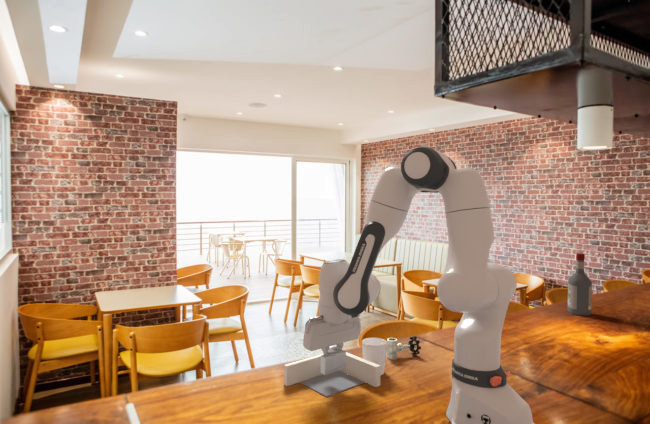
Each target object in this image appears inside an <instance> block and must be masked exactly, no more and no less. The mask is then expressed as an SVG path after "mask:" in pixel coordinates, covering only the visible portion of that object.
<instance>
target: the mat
mask: <svg viewBox="0 0 650 424" xmlns="http://www.w3.org/2000/svg"><path fill="white" fill-rule="evenodd" d="M300 384H301V385H303V386H305V387H307V388H309V389H310V390H313V391H314V392H316V393H318V394H319V395H322V396H324V397H326V398H328V397H331V396H334V395H336V394H339V393H341V392H344V391H347V390H349V389H352V388H355V387H357V386H360V385H362V384H363V385H364V384H365V382H363V381H361V380H359V379H356V378H354V377H352V376H350V375H347V374H345V373H343V372H341V371H336V372H333V373H330V374H327V375H324V374H323V375H320V376H317V377H314V378H311V379H308V380H305V381H302V382H300Z"/></svg>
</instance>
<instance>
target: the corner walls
mask: <svg viewBox="0 0 650 424" xmlns="http://www.w3.org/2000/svg"><path fill="white" fill-rule="evenodd" d="M322 355H323V353H319V354H318V355H314V356H310V357H307V358H304V359H300V360H296V361H293V362H289V363H286V364H283V385H284V386H285V387H290V386H293V385H295V384H298V383H299V384H300V383H301V382H303V381H306V380H309V379H312V378H315V377H318V376H321V375H324V374H322V373H321V356H322ZM339 371H341V372H343V373H345V374H348V375H350V376H352V377H354V378H356V379H359V380H361V381H363V382H364V384H367V383H368V385H370V386H372V387H374V388H377V387H380V386H381V376H382V375H381V365H378V364H375V363H373V362H370V361H368V360H365V359H363V357H360V356H357V355H355V354H352V353H350V352H347V351H346V368H345V369H342V370H339Z"/></svg>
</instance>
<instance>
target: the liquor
mask: <svg viewBox="0 0 650 424" xmlns="http://www.w3.org/2000/svg"><path fill="white" fill-rule="evenodd" d="M585 257H586V254H585V253H580V252H579V253H577V252H576V257H575V258H576V259H575V260H576V266H575V267H576V268H575V272H574V273H573V274H572V275H570V276H569V278H568V279H567V280H568V281H567V306H566V307H567V308H566V309H567V312H568V313H570V315H575V316H586V317H589V316H591V314H592V298H593V297H592V294H593V293H592V291H593V289H592V288H593V283H592V280H591V279H590V277H589V276H587V274H586V272H585V259H586V258H585Z"/></svg>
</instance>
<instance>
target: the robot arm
mask: <svg viewBox="0 0 650 424" xmlns="http://www.w3.org/2000/svg"><path fill="white" fill-rule="evenodd" d="M419 192H420V193H433V194H436V193H437V194H438V193H439V194H440V195H441V197H442V201H443V205H444V212H445V213H444V214H445V220H446V228H447V230H446V231H447V237H448V250H447V258H446V264H445V267H444V271H443V273H442V275H441V276H440V278H439V279H438V282H437V286H436V294H437V297H438V298H437V299H438V300H439V302H440V303H441V304H442V306H443V307H444V308H445V309H447V310H448V311H450V312H453V313H462V316H461V318H460V320H459V322H458V323H457V325H456V327H455V328H454V329H455V330H454V333H453V334H454V337H453V339H454V341H453V342H454V343H453V359H452V361H451V378H452V385H451V386H452V387H451V393H450V399H449V403H448V406H447V409H446V411H445V412H446V413H445V415H446V417H447V418H448V420H449V421H450V424H536V423H534V421H533V419H534V418H533V414H532V410H531V407H530V405H529V403H528V402H526V400H524V399H523V398H522V397H521V396H520V395H519V394H518V392H516V390H514V388H513V387H512V386H510V384H509V383H508V380H507V379H508V378H509V377H510V376H511V371H510V370H508V371H506V372H505V371H504V369H503V367H502V365H501V346H502V345H501V344H502V343H501V342H502V333H503V327H504V323H505V320H506V319H505V318H506V316H507V312H508V308H509V305H510V302H511V299H512V298H513V296H514V295H515V293H516V290H517V286H518V285H517V279H516V276H515V274H514V273H513V272H512V271H511V269H510V268H509V267H506V266H504V265H502V264H497V263H492V262H489V255H490V249H491V246H492V245H493V243H494V240H495V232H494V226H493V219H492V218H493V217H492V212H491V207H490V206H491V205H490V199H489V196H488V191H487V188H486V185H485V181H484V179H483V177H482V174H481V173H480V172H479V171H477V169H473V168H468V167H467V168H466V167H465V168H464V167H463V168H457V166H456V163H455V162H454V160H452V159H451V158H450V157H449V156H446V154H445V153H443V152H442V151H440V150H436V149H433V148H432V147H429V146H418V147H414V148H412V149H410V150H409V151H408V152H407V151H406V153H405V155H404V156H403V157H402V160H401V162H400V166H397V165H394V166H389V167H387V168H386V169H384V170H383V172H382V174H380V177H379V179H378V181H377V183H376V185H375V187H374V190H373V192H372V194H371V199H370V201H369V204H368V208H367V211H366V215H365V220H364V223H363V227H362V229H361V233H360V237H359V239H358V242H357V245H356V246H355V250H354V252H353V255H352V257H351V260H350V262H348V261H347V260H346V259H344V258H343V259H340V258H339V259H331V260H327V261H326V262H324V263H323V264H321V267H320V271H319V281H318V290H319V299H318V314H317V316H313V317H309V318H308V319H307V320H306V322H305V325H304V333H303V340H302V341H303V342H302V344H303V345H302V346H303V348H304V349H305V350H307V351H309V352H313V351H317V350H321V351H322V354H323V353H324V355H325V354H328V353H329V352H328V350H329V346H335V345H336V346H335V347H337V348H339V349H341V350H343V348H344V343H347V342H351V341H354V340H358V339H359V338H360V335H361V330H362V329H361V319H360V317H361V314H362V313H363V312H364V311H365V310H366V309H367V308H368V307H369V306H370V305H371V304H372V303H373V302H375V300H376V299H377V298H378V297H379V295H380V292H381V284H380V281H379V279H378V278H377V277H376V276H375V275H374V274H373V271H374V267H375V265H376V262H377V261H378V260H377V259H378V258H379V255H380V253H381V251H382V250H383V249H384V247H385V246H386V244H388V242H389V241H390V240H392V238H394V237H395V236H396V235H397V234H399V232H400V230H401V228H402V226H403V225H404V223H405V221H406V219H407V216H408V213H409V210H410V206H411V203H412V201H413V199H414V197H415V195H417V194H418V193H419Z"/></svg>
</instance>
